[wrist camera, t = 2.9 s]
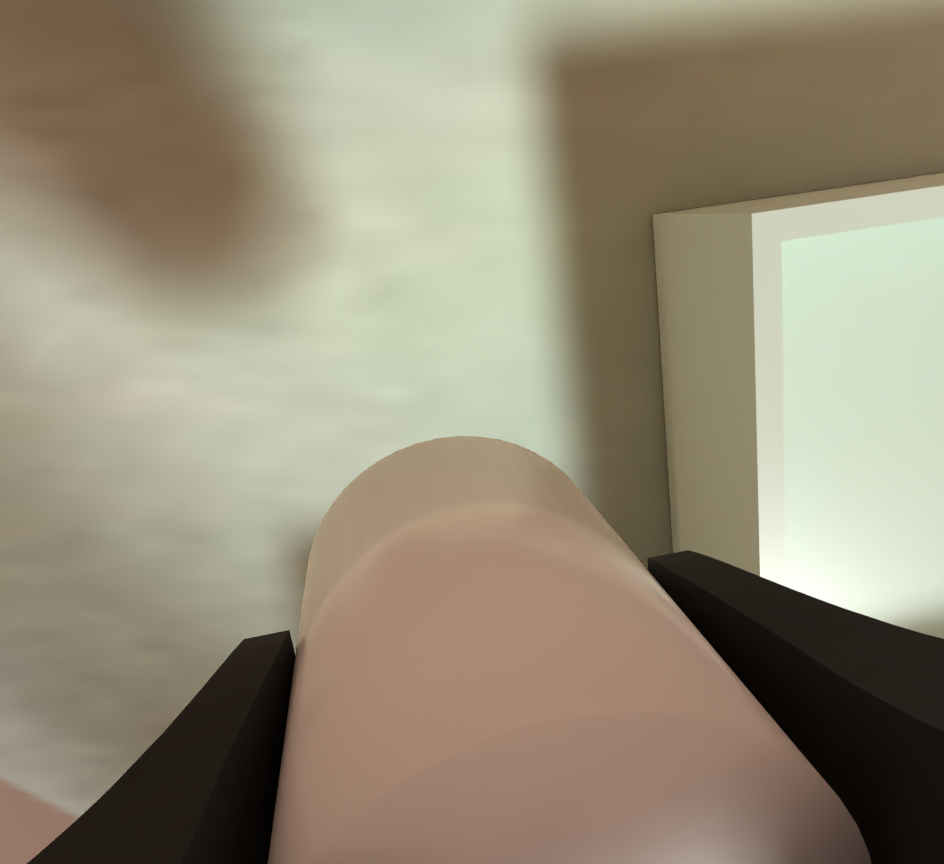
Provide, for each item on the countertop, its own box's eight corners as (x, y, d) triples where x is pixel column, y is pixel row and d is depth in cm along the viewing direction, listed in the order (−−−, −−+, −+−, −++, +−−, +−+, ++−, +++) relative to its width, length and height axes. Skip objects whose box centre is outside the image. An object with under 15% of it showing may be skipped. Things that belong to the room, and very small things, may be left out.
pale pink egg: (616, 677, 13) (873, 1123, 7) (337, 738, 13) (322, 1285, 6) (590, 411, 12) (882, 646, 5) (276, 467, 12) (170, 804, 5)
